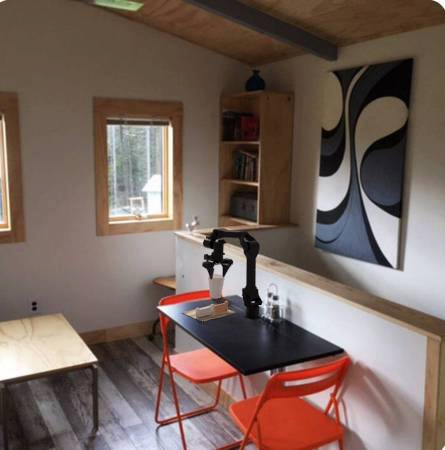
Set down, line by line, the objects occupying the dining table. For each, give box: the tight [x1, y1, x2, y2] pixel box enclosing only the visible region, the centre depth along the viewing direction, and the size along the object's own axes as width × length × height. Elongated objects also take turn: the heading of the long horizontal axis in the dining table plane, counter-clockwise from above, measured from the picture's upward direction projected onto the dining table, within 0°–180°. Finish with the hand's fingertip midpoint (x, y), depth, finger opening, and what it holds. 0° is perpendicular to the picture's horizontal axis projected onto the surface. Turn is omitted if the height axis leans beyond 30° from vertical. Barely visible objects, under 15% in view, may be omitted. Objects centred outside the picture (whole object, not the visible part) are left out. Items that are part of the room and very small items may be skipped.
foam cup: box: [207, 273, 225, 300], centre depth 307 cm, size 10×9×13 cm
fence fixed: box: [195, 303, 215, 318], centre depth 272 cm, size 2×12×6 cm, turn 132°
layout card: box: [181, 305, 237, 323], centre depth 278 cm, size 17×24×1 cm
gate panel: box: [214, 300, 229, 313], centre depth 279 cm, size 2×9×5 cm, turn 132°
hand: (217, 278), depth 293 cm, fingers open, 9 cm apart
